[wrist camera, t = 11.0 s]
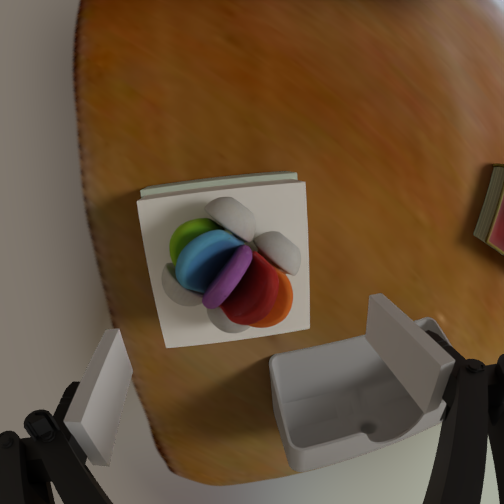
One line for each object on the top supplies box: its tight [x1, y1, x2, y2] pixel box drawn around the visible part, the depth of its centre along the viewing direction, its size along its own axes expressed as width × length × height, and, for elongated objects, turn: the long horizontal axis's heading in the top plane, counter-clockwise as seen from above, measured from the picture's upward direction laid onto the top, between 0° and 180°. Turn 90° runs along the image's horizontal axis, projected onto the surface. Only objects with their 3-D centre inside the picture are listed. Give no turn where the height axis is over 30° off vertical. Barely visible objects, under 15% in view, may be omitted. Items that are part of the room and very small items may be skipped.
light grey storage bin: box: [269, 317, 452, 472], centre depth 36 cm, size 25×16×12 cm, turn 96°
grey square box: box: [137, 171, 310, 348], centre depth 29 cm, size 14×14×8 cm
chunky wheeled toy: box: [161, 197, 301, 333], centre depth 22 cm, size 8×10×7 cm
